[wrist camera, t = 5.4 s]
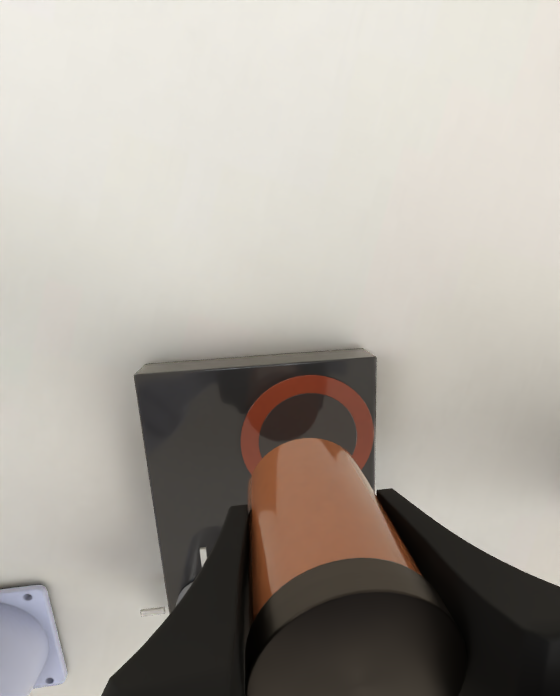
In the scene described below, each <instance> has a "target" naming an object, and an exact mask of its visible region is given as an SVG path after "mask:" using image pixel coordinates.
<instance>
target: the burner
mask: <svg viewBox="0 0 560 696" xmlns="http://www.w3.org/2000/svg"><path fill="white" fill-rule="evenodd" d="M302 438H319V439H324V440H328V441H330V442H333V443H335V444H337V445H339V446H341V447H342V448H344V449H345V450H347V451H348V452H349V453H350V454H351V455H352V457H353V458H354V459H355V460H356V462H357V464H358V466H359V467H360V469H361V470H362V468H363V467H364V465H365V463H366V461H367V460H368V458H369V455H370V452H371V449H372V445H373V438H374V428H373V421H372V417H371V414H370V411H369V409H368V407H367V405H366V403H365V402H364V401H363V399H362V398H361V397H360V396H359V395H358V393H357V392H356V391H355V390H353V389H352V388H351V387H350V386H348V385H347V384H345V383H343V382H341V381H340V380H337V379H335V378H332V377H328V376H324V375H316V374H308V375H299V376H294V377H290V378H287V379H285V380H282V381H280V382H278V383H276V384H274V385H273V386H271V387H270V388H268V389H267V390H266V391H264V392H263V393H262V394H261V395H260V396H259V397H258V398H257V399H256V400H255V402H254V403H253V404H252V406H251V407H250V409H249V411H248V412H247V415H246V417H245V419H244V422H243V426H242V430H241V452H242V456H243V460H244V462H245V465H246V467H247V469H248V470H249V472H250V473H251V475H252V473H253V471H254V469H255V468H256V466H257V464H258V463H259V462H260V461H261V460H262V458H263V457H264V456H265V455H267V454H268V453H269V452H270V451H272V450H273V449H274V448H276V447H278V446H280V445H281V444H284V443H286V442H289V441H292V440H296V439H302Z"/></svg>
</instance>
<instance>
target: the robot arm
mask: <svg viewBox="0 0 560 696" xmlns="http://www.w3.org/2000/svg"><path fill="white" fill-rule="evenodd" d="M377 498H378V500H379V501H380V503H381V505H382V507H383V508H384V510H385V512H386V513H387V515H388V517H389V519H390V520H391V522H392V524H393V525H394V527H395V529H396V531H397V532H398V534H399V536H400V537H401V539H402V541H403V543H404V544H405V546H406V548H407V549H408V551H409V553H410V554H411V556H412V558H413V560H414V561H415V563H416V565H417V566H418V568H419V570H420V572H421V573H422V575H423V577H424V578H425V579H426V580H427V581H428V582H429V583H430V584H431V585H432V586H433V588H434V589H435V590H436V591H437V593H438V594H439V596H440V598H441V599H442V601H443V603H444V604H445V606H446V608H447V609H448V611H449V613H450V614H451V616H452V618H453V619H454V621H455V623H456V624H457V626H458V628H459V630H460V632H461V633H462V636H463V639H464V642H465V646H466V653H467V670H466V676H465V680H464V683H463V686H462V689H461V691H460V693H459V695H458V696H560V587H559V586H556V585H554V584H552V583H549V582H547V581H544V580H542V579H539V578H537V577H535V576H532V575H530V574H528V573H525V572H523V571H521V570H519V569H517V568H515V567H513V566H511V565H509V564H507V563H504V562H502V561H500V560H499V559H497V558H495V557H493V556H491V555H489V554H487V553H486V552H484V551H482V550H480V549H478V548H477V547H475V546H473V545H471V544H470V543H468V542H466V541H465V540H463V539H462V538H460V537H459V536H457V535H455V534H454V533H452V532H451V531H449V530H448V529H446V528H445V527H443V526H442V525H440V524H439V523H438V522H436V521H435V520H433V519H432V518H431V517H429V516H428V515H426V514H425V513H424V512H422V511H421V510H420V509H418V508H417V507H416V506H415V505H413V504H412V503H411V502H409V501H408V500H407V499H405V498H404V497H403V496H401V495H400V494H399V493H397V492H396V491H395V490H393V489H382V490H377ZM248 537H249V528H248V505H247V504H246V505H236V506H231V507H230V508H229V509H228V513H227V516H226V519H225V522H224V524H223V527H222V529H221V531H220V534H219V536H218V538H217V540H216V542H215V544H214V546H213V548H212V550H211V552H210V554H209V556H208V558H207V559H206V561H205V563H204V565H203V567H202V568H201V570H200V572H199V573H198V575H197V577H196V578H195V580H194V581H193V583H192V584H191V586H190V587H189V589H188V590H187V592H186V593H185V595H184V596H183V598H182V599H181V600H180V602H179V603H178V604H177V606H176V607H175V608H174V610H173V611H172V612H171V614H170V615H169V616H168V617H167V619H166V620H165V621H164V622H163V623H162V625H161V626H160V627H159V628H158V629H157V630H156V631H155V633H154V634H153V635H152V636H151V637H150V638H149V639H148V641H147V642H146V643H145V644H144V645H143V646H142V647H141V648H140V649H139V650H138V651H137V652H136V653H135V654H134V655H133V656H132V657H131V658H130V659H129V660H128V661H127V662H126V663H125V664H124V665H123V666H122V667H121V668H120V669H119V670H118V671H117V672H116V673H115V674H114V675H113V676H112V677H111V678H110V679H109V681H108V683H107V685H106V687H105V689H104V691H103V693H102V695H101V696H245V647H246V641H247V637H248V634H249V592H248ZM67 674H68V673H67V669H66V665H65V660H64V656H63V652H62V648H61V644H60V640H59V636H58V632H57V628H56V624H55V620H54V616H53V612H52V608H51V603H50V599H49V595H48V591H47V589H46V587H45V586H43V585H32V586H23V587H15V588H7V589H0V696H29V694H30V692H31V690H32V689H33V688H40V687H46V686H53V685H59V684H62V683H63V682H64V681H65V679H66V677H67Z"/></svg>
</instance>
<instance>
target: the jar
mask: <svg viewBox="0 0 560 696" xmlns="http://www.w3.org/2000/svg"><path fill="white" fill-rule="evenodd" d="M247 497H248V528H249V537H248V592H249V634H248V637H247V641H246V647H245V696H458V695H459V693H460V691H461V689H462V686H463V683H464V680H465V676H466V670H467V653H466V646H465V642H464V639H463V636H462V633H461V632H460V630H459V628H458V626H457V624H456V623H455V621H454V619H453V618H452V616H451V614H450V613H449V611H448V609H447V608H446V606H445V604H444V603H443V601H442V599H441V598H440V596H439V594H438V593H437V591H436V590H435V589H434V588H433V586H432V585H431V584H430V583H429V582H428V581H427V580H426V579H425V578H424V577H423V575H422V573H421V572H420V570H419V568H418V566H417V565H416V563H415V561H414V560H413V558H412V556H411V554H410V553H409V551H408V549H407V548H406V546H405V544H404V543H403V541H402V539H401V537H400V536H399V534H398V532H397V531H396V529H395V527H394V525H393V524H392V522H391V520H390V519H389V517H388V515H387V513H386V512H385V510H384V508H383V507H382V505H381V503H380V501H379V500H378V498H377V496H376V495H375V493H374V491H373V489H372V488H371V486H370V484H369V483H368V481H367V479H366V477H365V476H364V474H363V472H362V471H361V469H360V467H359V466H358V464H357V462H356V460H355V459H354V458H353V457H352V455H351V454H350V453H349V452H348V451H347V450H345V449H344V448H342V447H341V446H339V445H337V444H335V443H333V442H330V441H328V440H324V439H319V438H302V439H296V440H292V441H289V442H286V443H284V444H281V445H280V446H278V447H276V448H274V449H273V450H272V451H270V452H269V453H268V454H267V455H265V456H264V457H263V458H262V460H261V461H260V462H259V463H258V464H257V466H256V468H255V469H254V471H253V473H252V475H251V477H250V481H249V484H248V491H247Z"/></svg>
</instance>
